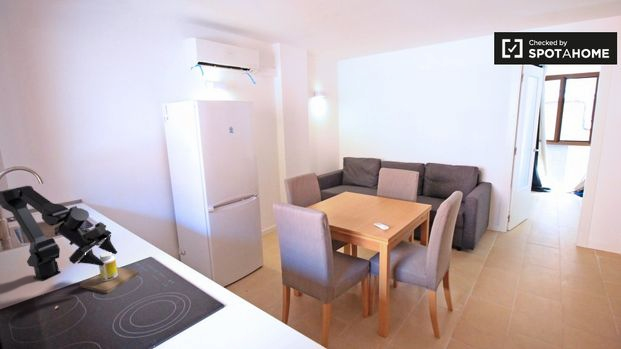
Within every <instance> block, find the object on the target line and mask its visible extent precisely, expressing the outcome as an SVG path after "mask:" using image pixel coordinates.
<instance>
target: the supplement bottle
mask: <svg viewBox="0 0 621 349" xmlns="http://www.w3.org/2000/svg"><path fill="white" fill-rule="evenodd" d="M99 259H100V260H101V261H102V262H103V263H104V265H103V266H100V265H98V269H99V274H101V279H102V280H103V281H109V280H112V279H114V278H116V277H117V275H118V272H117V267H118V266H117V262H116V257H115V256H113V253H111V252H108V251H106V252H103V253H101V254H99Z"/></svg>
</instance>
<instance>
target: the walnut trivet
mask: <svg viewBox="0 0 621 349" xmlns="http://www.w3.org/2000/svg"><path fill="white" fill-rule="evenodd" d="M116 267H117V272H118V275H117V277H116V278H114V279H112V280H109V281H103V280H102V279H101V274H100V273H98V274H97V275H95V276H93V277H90V278H89V279H87V280H85V281H83V282H82V283H80V288H81V289H82V288H83V289H88V290H92V291H95V292H100V293H104V294H109V293H110V292H112V291H113V290H115V289H117V288H119V287H120V286H122V285H124V284H125V283H127V282H128V281H130V280H131V279H133V278H135V277H137V276H138V275H139V274H140V273H139V271H137V270H133V269H128V268H124V267H123V268H122V267H118V266H116ZM136 275H137V276H136Z"/></svg>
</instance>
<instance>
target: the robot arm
mask: <svg viewBox="0 0 621 349" xmlns="http://www.w3.org/2000/svg"><path fill="white" fill-rule="evenodd" d="M28 206H30V207H31V208H33V209H34V210H35V211H37V212H38V213H40V215H41V219H42V220H43V221H44V223H45V224H47V225H48V226H51V227H52V226H56V225H57V226H56V227H55V228H54V229H53V230H54V235H55V236H58V235H61V236H63V237H64V238H65V239H66V240H68V241H69V245H70V246H73V245H75V246H77V247H78V248H76V250H74V252H72V254H71V255H70V256H69V257H68V259H69V262H70V263H72V264H73V265H75V264H76V263H77V264H78V265H79V264H87V265H95V266H99V265H100V266H103V265H104V263H103V262H102V261H101V260H100V257H98V256H96V255H95V254H94V252H93V251H94V250H93V248H94V247H95V246H97V247H98V249H101V250H103V251H106V252H111V253H112V255H116V254H118V251H117V249H116V248H115V247H114V244H113V243H112V241H111V237H112V235H111V234H112V232H111V231H110V230H107V225H106V224H105V223H103V222H102V221H101V222H100V221H99V222H98V223H96V224H94V228H91V229H89V228H88V227H86V228H82V227H83V225H84V224H85V223H86V222H87V220H88V219H89V217H90V212H89V211H88V210H85V209H84V208H81V207H80V208H79V207H77V205H75V206H71V207H70V208H69V207H67V206H65V205H62V204H58V203H53V202H52V201H50V200H49V199H47V198H46V197H45V196H44V195H42V194H40V193H39V192H37V191H36V190H35V189H34V188H33V186H31V185H24V186H18V187H14V188H8V189H5V190H0V207H1V209H4V210H5V211H7V212H10V213H12V215H13V217H14V218H15V220H16V222H17V224H18V225H19V227H20V228H21V230H22V232H23V233H24V235H25V237H26V238H27V240H28V242H29V249H28V252H29V257H28V258H27V260H26V262H27V265H28V266H29V267H33V269H34V274H35V275H34V276H33V279H37V280H41V281H46V280H48V279H50V278H52V277H54V276H56V275H58V274H60V273H61V271H60V269H59V264H58V261H56V259H59V258H60V250H61V249H60V246H59V244H58V243H57V242H56V240H55V238H53V237H50V238H48V237H47V236H46V235H45V234H44V232H43V230H42V229H41V228H40V225H39V224H38V222H37V220H36V218H34V216H33V214H32V212H31V211H30V209H29V207H28Z"/></svg>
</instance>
